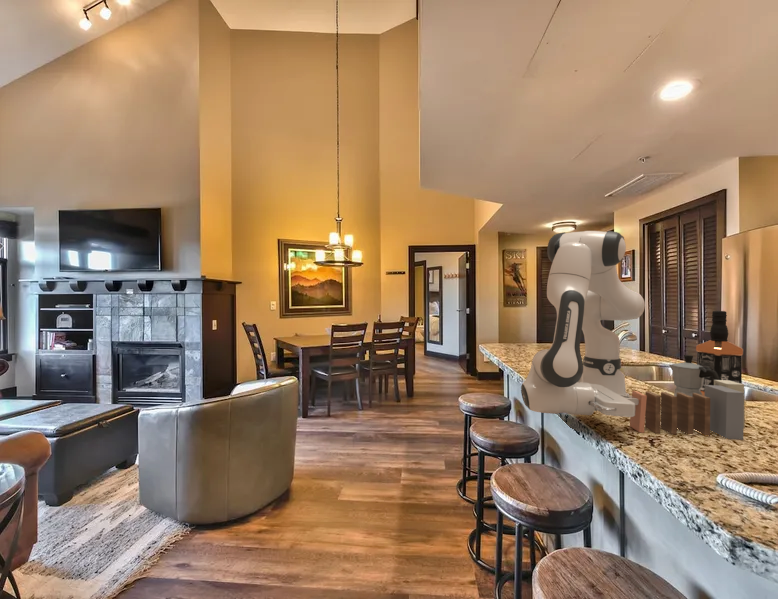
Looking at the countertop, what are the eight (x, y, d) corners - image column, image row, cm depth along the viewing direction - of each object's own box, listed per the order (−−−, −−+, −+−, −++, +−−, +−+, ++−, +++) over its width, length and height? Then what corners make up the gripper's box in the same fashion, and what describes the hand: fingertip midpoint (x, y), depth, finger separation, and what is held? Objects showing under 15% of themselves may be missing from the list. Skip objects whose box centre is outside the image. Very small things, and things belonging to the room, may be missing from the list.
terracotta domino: (639, 432, 101) (641, 395, 101) (629, 426, 106) (632, 390, 106) (643, 432, 101) (646, 395, 101) (634, 426, 106) (636, 391, 106)
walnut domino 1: (655, 433, 100) (655, 396, 100) (645, 427, 105) (645, 391, 105) (660, 433, 100) (660, 396, 100) (649, 427, 105) (650, 391, 105)
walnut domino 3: (688, 435, 99) (688, 397, 99) (676, 428, 104) (676, 392, 104) (693, 435, 99) (693, 397, 99) (681, 428, 104) (681, 392, 104)
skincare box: (745, 428, 105) (746, 384, 105) (727, 427, 106) (727, 383, 106) (730, 421, 111) (730, 379, 111) (712, 419, 112) (713, 379, 112)
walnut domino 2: (671, 434, 100) (672, 396, 100) (660, 427, 105) (661, 391, 105) (676, 434, 100) (677, 396, 100) (665, 428, 105) (665, 392, 105)
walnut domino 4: (704, 435, 99) (705, 397, 99) (692, 429, 104) (692, 393, 104) (709, 436, 99) (710, 398, 99) (696, 429, 104) (697, 393, 104)
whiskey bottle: (746, 409, 124) (747, 311, 123) (716, 408, 124) (717, 311, 124) (719, 400, 134) (720, 310, 134) (691, 400, 134) (692, 310, 134)
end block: (704, 428, 105) (704, 385, 105) (720, 428, 104) (720, 385, 104) (726, 438, 97) (726, 392, 97) (743, 439, 96) (743, 392, 96)
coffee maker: (658, 406, 126) (658, 352, 126) (677, 404, 128) (677, 351, 128) (707, 420, 111) (708, 359, 111) (728, 417, 114) (728, 358, 114)
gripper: (598, 397, 95) (657, 399, 93) (570, 379, 115) (618, 380, 113) (598, 422, 95) (657, 424, 93) (570, 400, 115) (618, 401, 113)
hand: (635, 400), depth 103 cm, fingers closed
